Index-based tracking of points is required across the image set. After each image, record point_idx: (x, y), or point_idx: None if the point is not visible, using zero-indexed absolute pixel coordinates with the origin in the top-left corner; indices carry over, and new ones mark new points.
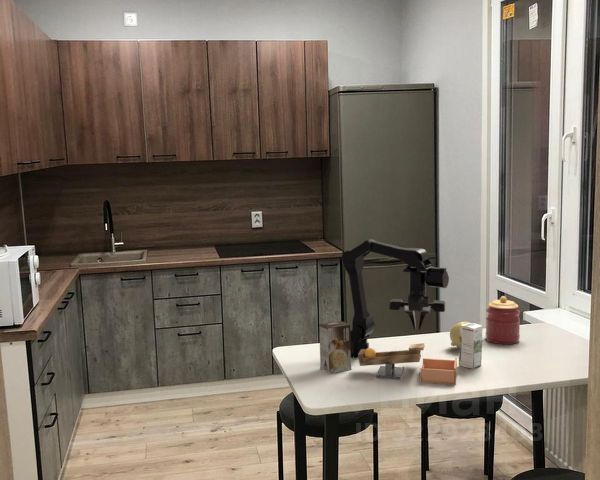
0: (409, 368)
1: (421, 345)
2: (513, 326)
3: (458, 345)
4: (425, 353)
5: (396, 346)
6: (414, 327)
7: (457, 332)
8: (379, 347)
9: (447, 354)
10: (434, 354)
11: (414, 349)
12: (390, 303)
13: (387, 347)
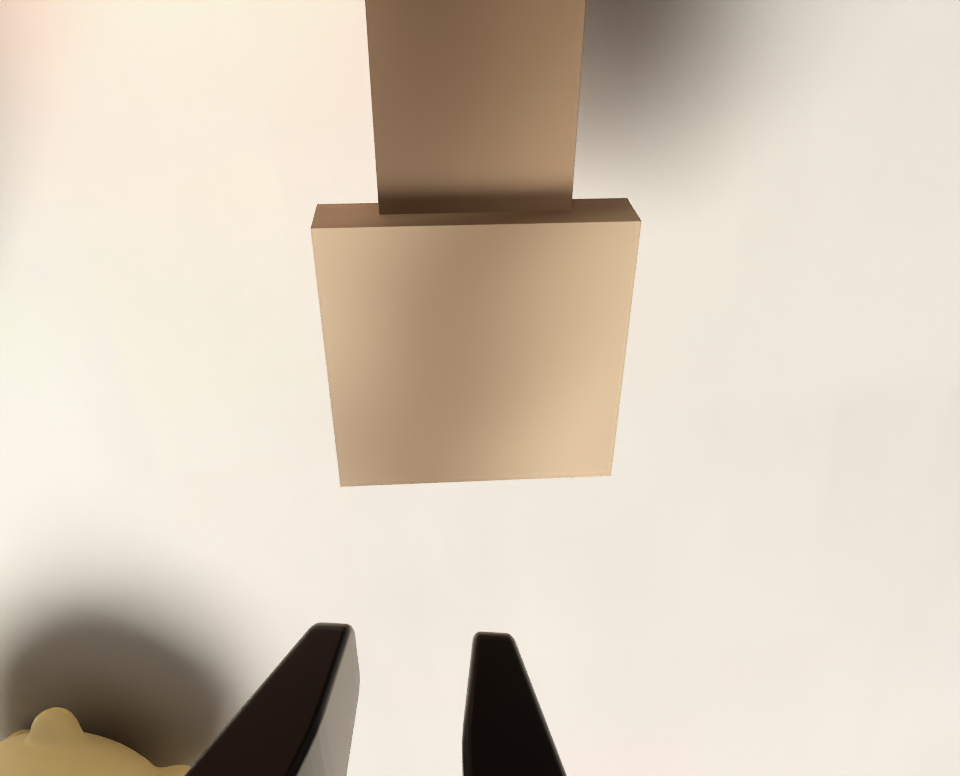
0: (596, 53)
1: (372, 365)
2: None
3: (102, 747)
4: (432, 622)
5: (739, 759)
6: (495, 684)
7: None
8: (929, 728)
9: (207, 618)
10: (335, 606)
11: (509, 207)
12: None
13: (838, 733)
